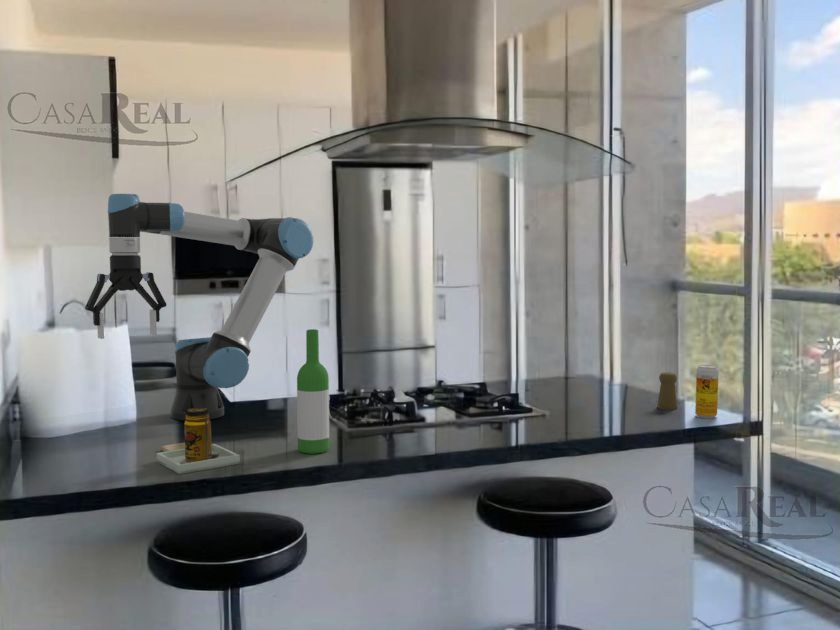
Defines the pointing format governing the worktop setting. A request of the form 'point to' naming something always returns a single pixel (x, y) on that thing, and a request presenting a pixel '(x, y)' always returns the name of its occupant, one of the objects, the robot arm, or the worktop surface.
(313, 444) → the wine bottle
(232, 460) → the tray
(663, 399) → the cork
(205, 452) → the condiment
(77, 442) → the worktop surface
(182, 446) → the bench board
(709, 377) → the beer can
